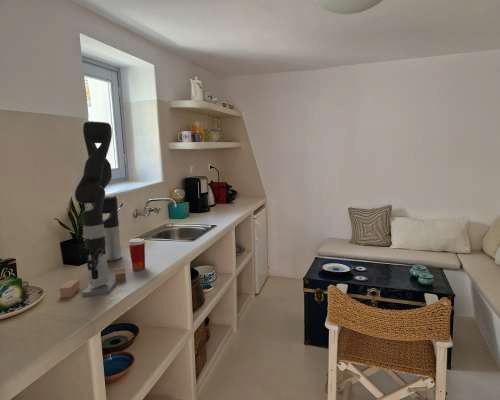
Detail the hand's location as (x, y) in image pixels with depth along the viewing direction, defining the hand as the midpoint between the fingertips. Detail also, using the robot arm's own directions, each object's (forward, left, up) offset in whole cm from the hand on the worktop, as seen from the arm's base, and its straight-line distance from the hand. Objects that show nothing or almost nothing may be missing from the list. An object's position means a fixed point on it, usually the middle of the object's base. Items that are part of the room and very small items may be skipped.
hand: (98, 275), depth 137 cm
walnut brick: (-11, +5, -6) cm, 14 cm away
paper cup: (-23, +10, -6) cm, 26 cm away
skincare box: (0, 0, -4) cm, 4 cm away
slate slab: (0, 0, -7) cm, 7 cm away
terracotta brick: (+1, -11, -6) cm, 13 cm away
